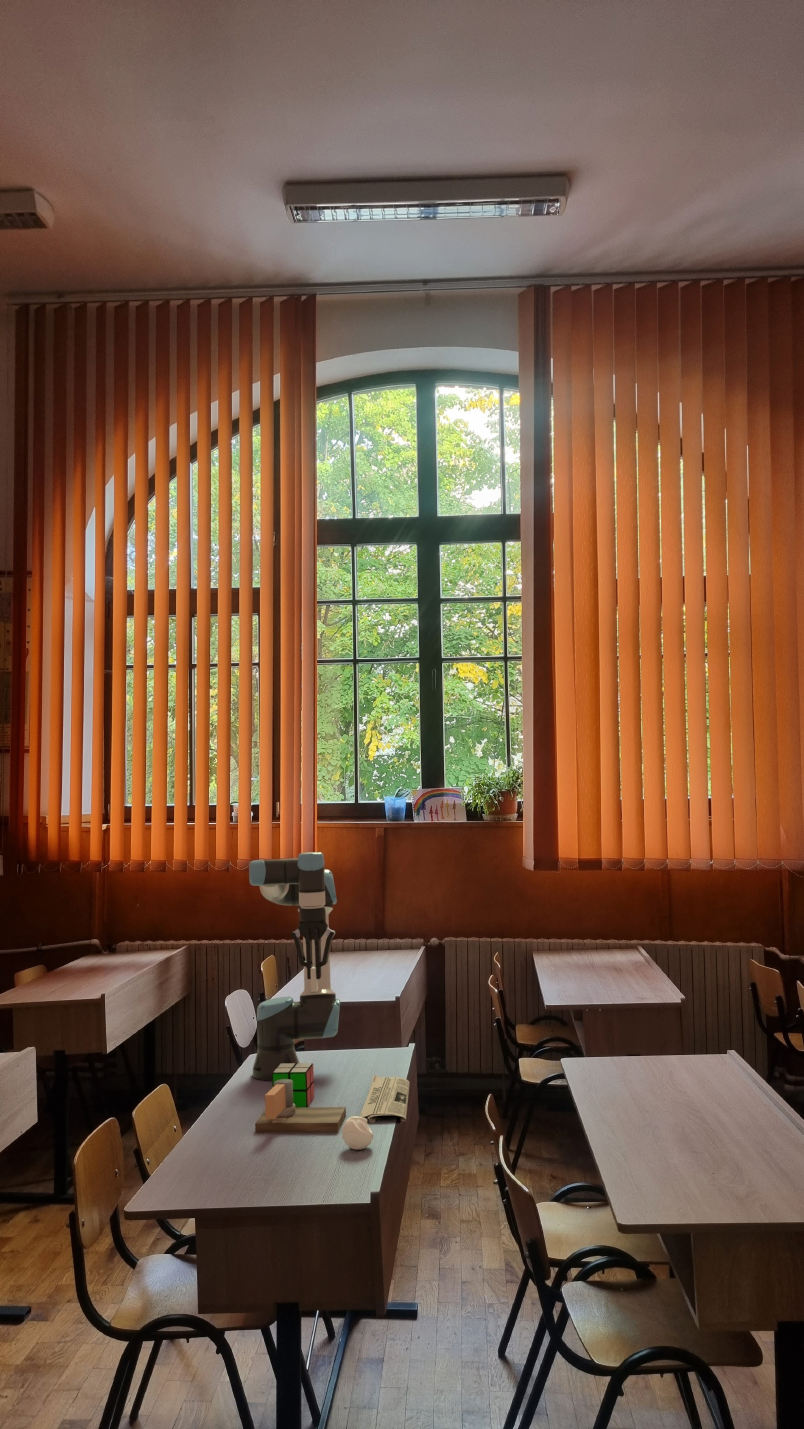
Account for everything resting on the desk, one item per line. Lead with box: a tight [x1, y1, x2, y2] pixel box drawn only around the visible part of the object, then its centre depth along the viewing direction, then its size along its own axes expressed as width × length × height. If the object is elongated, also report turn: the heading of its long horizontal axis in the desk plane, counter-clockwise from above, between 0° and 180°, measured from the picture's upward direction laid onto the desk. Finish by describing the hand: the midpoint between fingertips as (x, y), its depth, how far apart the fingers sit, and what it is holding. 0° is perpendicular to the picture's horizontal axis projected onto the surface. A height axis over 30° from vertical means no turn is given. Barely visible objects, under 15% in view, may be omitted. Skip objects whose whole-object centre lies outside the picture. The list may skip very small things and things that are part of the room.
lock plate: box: [254, 1103, 347, 1134], centre depth 259 cm, size 13×22×4 cm, turn 84°
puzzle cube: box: [271, 1062, 315, 1107], centre depth 278 cm, size 10×10×10 cm
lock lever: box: [264, 1079, 293, 1119], centre depth 257 cm, size 5×14×6 cm, turn 170°
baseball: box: [341, 1115, 374, 1151], centre depth 239 cm, size 8×8×8 cm
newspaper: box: [359, 1074, 410, 1124], centre depth 276 cm, size 35×12×4 cm, turn 178°
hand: (314, 990), depth 275 cm, fingers closed
